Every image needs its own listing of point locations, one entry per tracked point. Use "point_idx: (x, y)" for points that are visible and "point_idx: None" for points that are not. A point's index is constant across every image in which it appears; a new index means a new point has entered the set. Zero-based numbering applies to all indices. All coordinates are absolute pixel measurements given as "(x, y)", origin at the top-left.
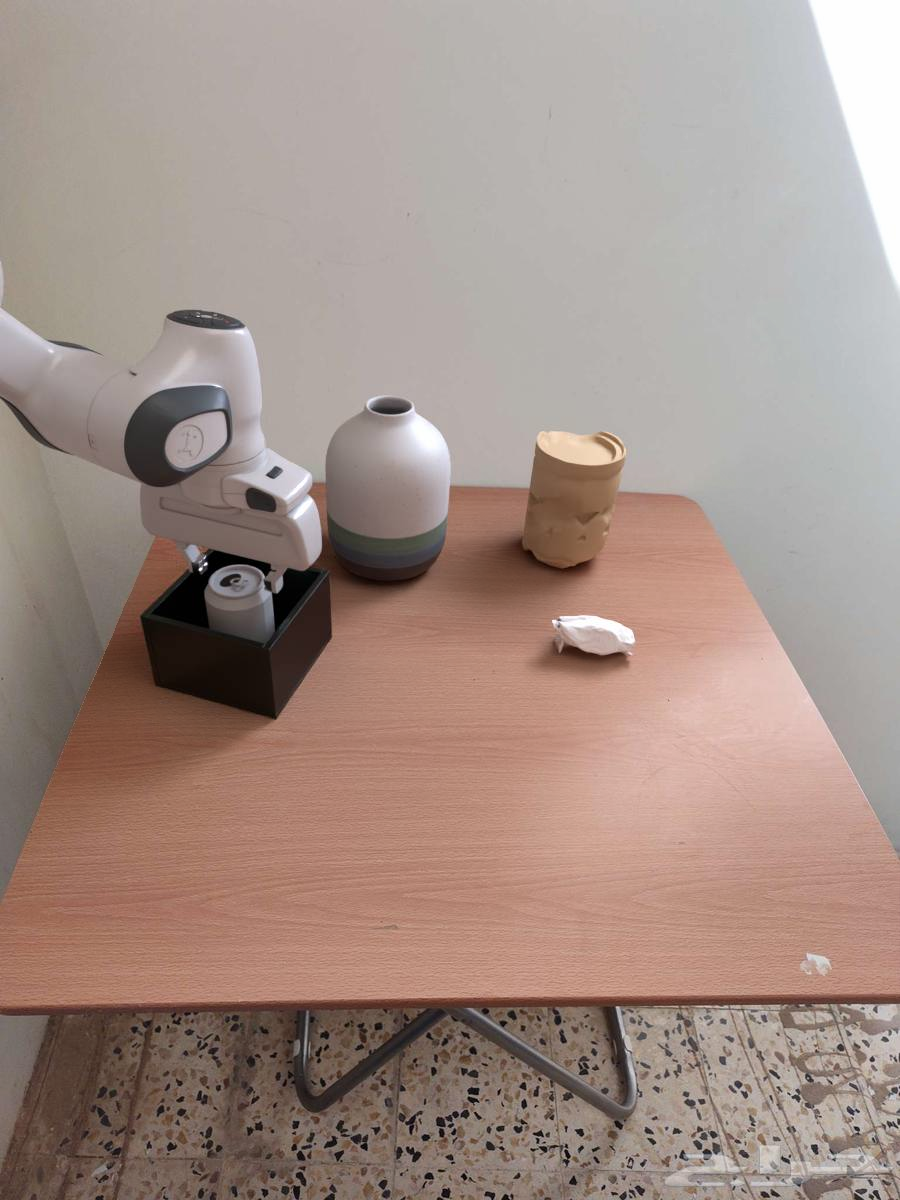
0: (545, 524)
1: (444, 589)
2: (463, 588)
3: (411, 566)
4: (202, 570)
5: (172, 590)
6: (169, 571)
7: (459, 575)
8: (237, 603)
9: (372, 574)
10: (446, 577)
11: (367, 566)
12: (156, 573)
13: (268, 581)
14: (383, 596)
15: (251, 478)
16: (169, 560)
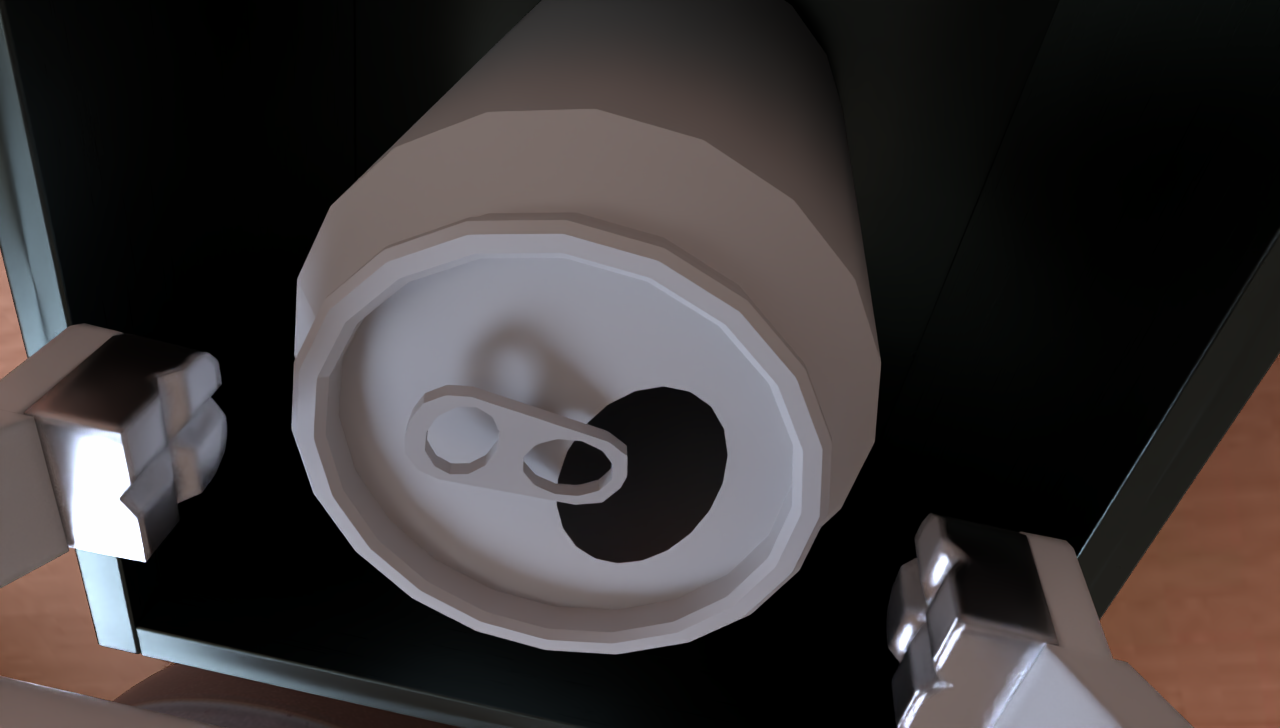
0: None
1: (69, 623)
2: (13, 631)
3: None
4: (922, 559)
5: (1212, 350)
6: (1211, 666)
7: (63, 685)
8: (459, 186)
9: None
10: (98, 676)
11: (270, 707)
12: (1276, 653)
13: (63, 412)
14: None
15: None
16: (1220, 724)
